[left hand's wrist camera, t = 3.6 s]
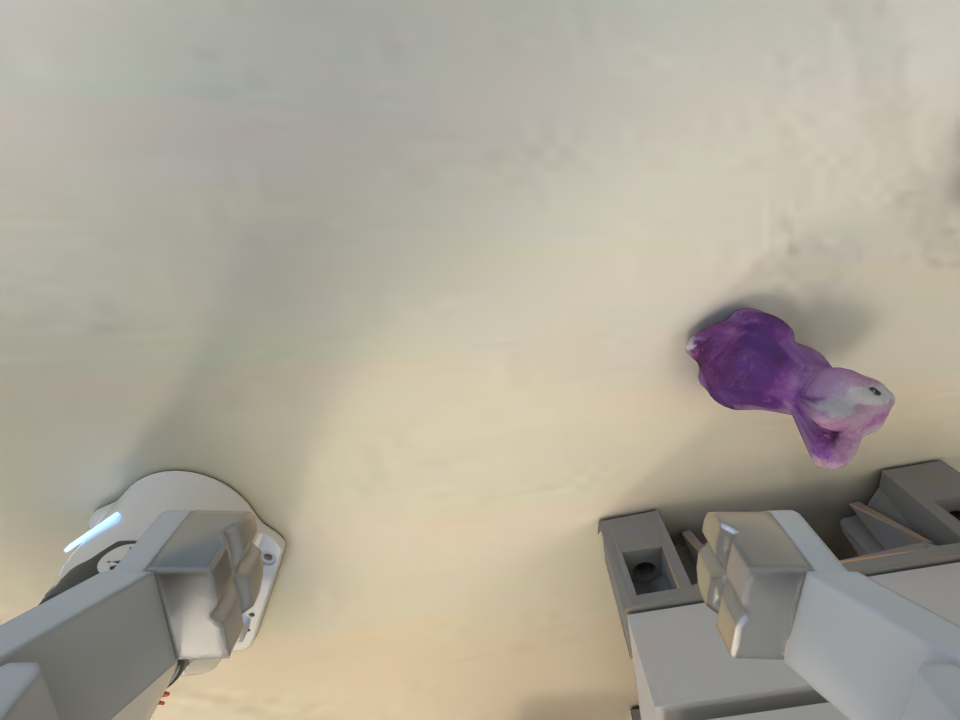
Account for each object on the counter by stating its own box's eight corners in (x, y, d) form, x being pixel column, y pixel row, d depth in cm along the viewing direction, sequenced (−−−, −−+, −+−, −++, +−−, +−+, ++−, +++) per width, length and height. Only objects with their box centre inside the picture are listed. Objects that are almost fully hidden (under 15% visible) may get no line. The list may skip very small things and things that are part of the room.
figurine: (825, 361, 51) (953, 447, 37) (718, 418, 53) (802, 520, 39) (783, 273, 48) (906, 331, 34) (672, 336, 51) (745, 415, 37)
